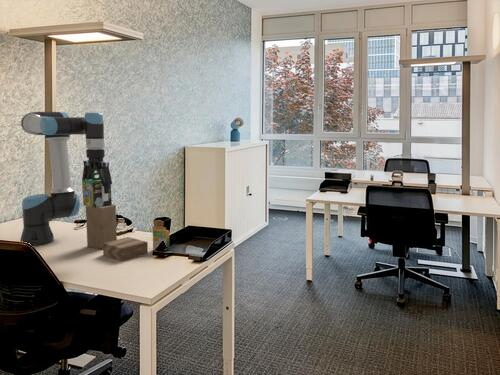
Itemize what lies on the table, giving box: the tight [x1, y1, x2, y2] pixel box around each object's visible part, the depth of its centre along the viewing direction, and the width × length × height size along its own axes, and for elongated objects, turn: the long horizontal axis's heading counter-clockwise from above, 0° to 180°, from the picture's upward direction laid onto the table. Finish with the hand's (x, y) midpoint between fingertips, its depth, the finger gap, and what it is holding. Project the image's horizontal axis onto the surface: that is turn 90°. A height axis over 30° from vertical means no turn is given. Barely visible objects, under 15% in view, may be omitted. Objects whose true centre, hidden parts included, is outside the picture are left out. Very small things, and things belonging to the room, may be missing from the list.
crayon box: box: [152, 226, 170, 251], centre depth 215 cm, size 7×3×12 cm, turn 70°
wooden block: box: [85, 203, 118, 250], centre depth 221 cm, size 10×10×20 cm
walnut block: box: [102, 236, 149, 262], centre depth 208 cm, size 14×14×6 cm
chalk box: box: [81, 171, 113, 208], centre depth 200 cm, size 9×9×15 cm
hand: (97, 199), depth 200 cm, fingers closed on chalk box, 9 cm apart
